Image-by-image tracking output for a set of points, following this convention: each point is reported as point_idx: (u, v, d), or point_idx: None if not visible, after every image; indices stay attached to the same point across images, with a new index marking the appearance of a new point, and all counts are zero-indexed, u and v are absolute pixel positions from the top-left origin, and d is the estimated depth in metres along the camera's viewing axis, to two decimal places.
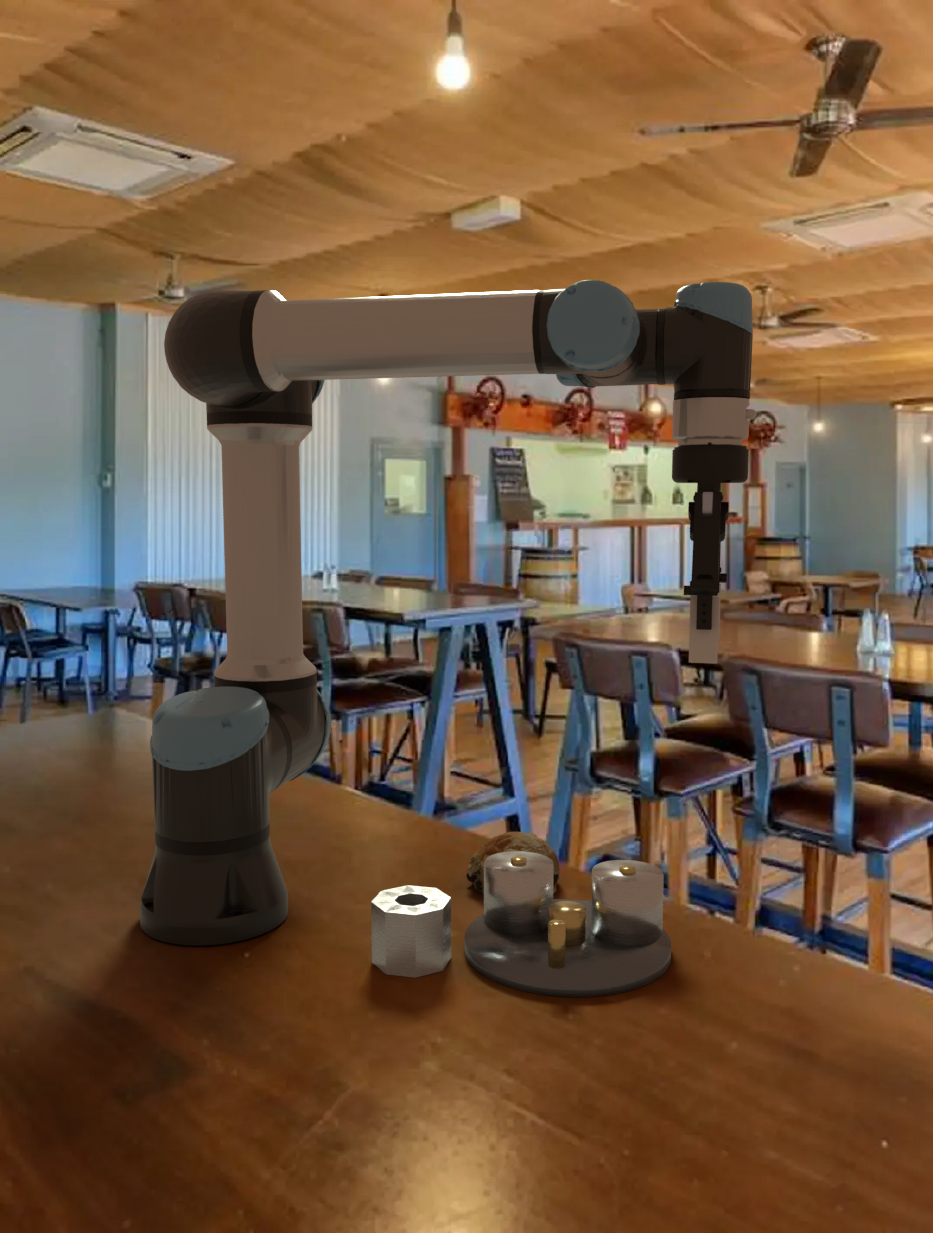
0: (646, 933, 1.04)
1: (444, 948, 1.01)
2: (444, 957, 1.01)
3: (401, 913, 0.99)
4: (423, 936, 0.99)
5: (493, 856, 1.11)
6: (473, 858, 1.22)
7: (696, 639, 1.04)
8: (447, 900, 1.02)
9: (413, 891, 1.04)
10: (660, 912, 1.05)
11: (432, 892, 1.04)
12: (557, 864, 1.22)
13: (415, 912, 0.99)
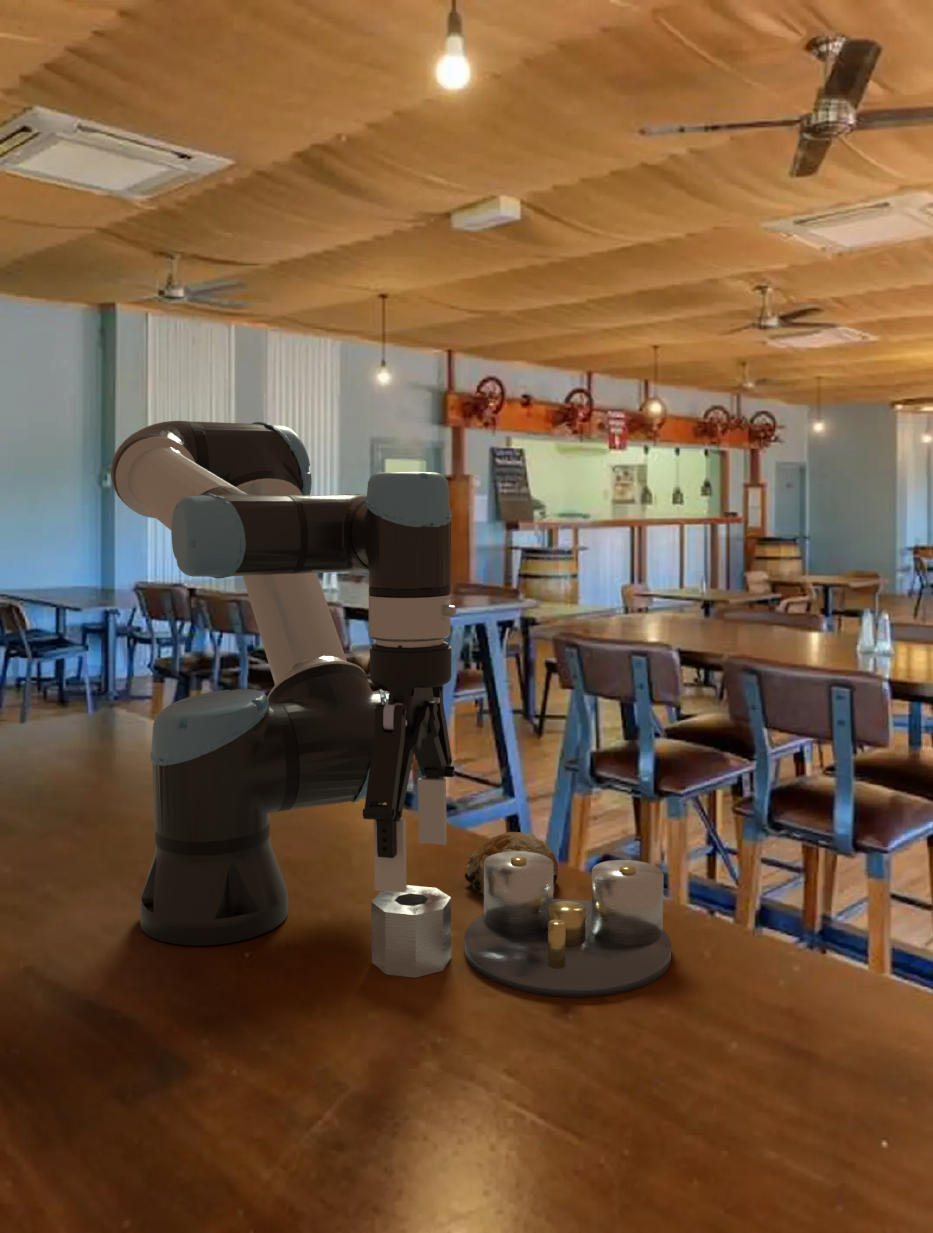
0: (646, 933, 1.04)
1: (444, 948, 1.01)
2: (444, 957, 1.01)
3: (401, 913, 0.99)
4: (423, 936, 0.99)
5: (493, 856, 1.11)
6: (472, 858, 1.22)
7: (382, 865, 0.95)
8: (447, 900, 1.02)
9: (413, 891, 1.04)
10: (660, 912, 1.05)
11: (432, 892, 1.04)
12: (556, 865, 1.22)
13: (415, 912, 0.99)
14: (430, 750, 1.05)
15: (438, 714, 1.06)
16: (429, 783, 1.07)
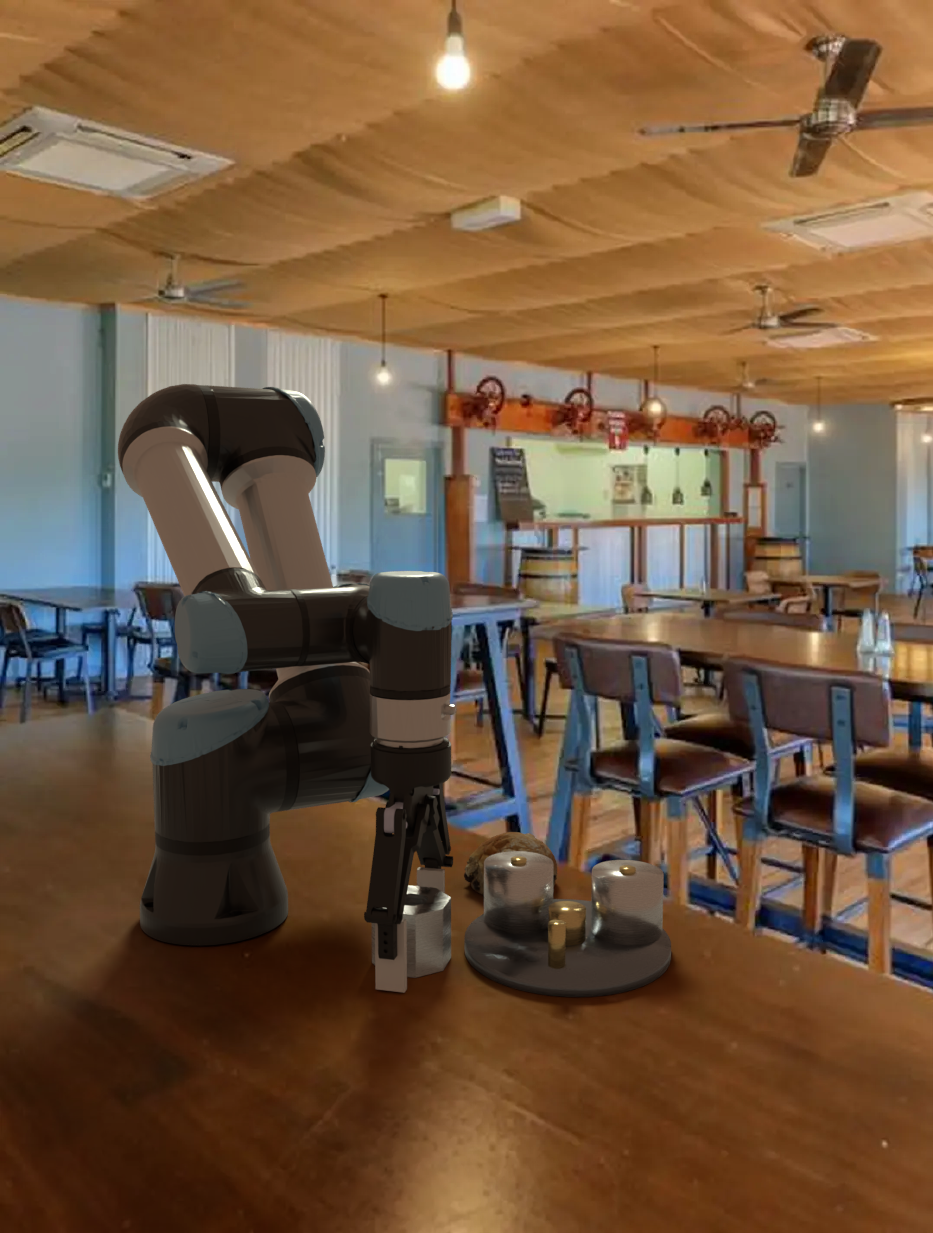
0: (646, 933, 1.04)
1: (444, 948, 1.01)
2: (444, 957, 1.01)
3: None
4: (423, 936, 0.99)
5: (493, 856, 1.11)
6: (471, 858, 1.22)
7: (382, 965, 0.96)
8: (447, 900, 1.02)
9: (413, 891, 1.04)
10: (660, 912, 1.05)
11: (432, 892, 1.04)
12: (555, 865, 1.22)
13: (415, 912, 0.99)
14: (429, 842, 1.06)
15: (438, 805, 1.07)
16: (428, 873, 1.08)
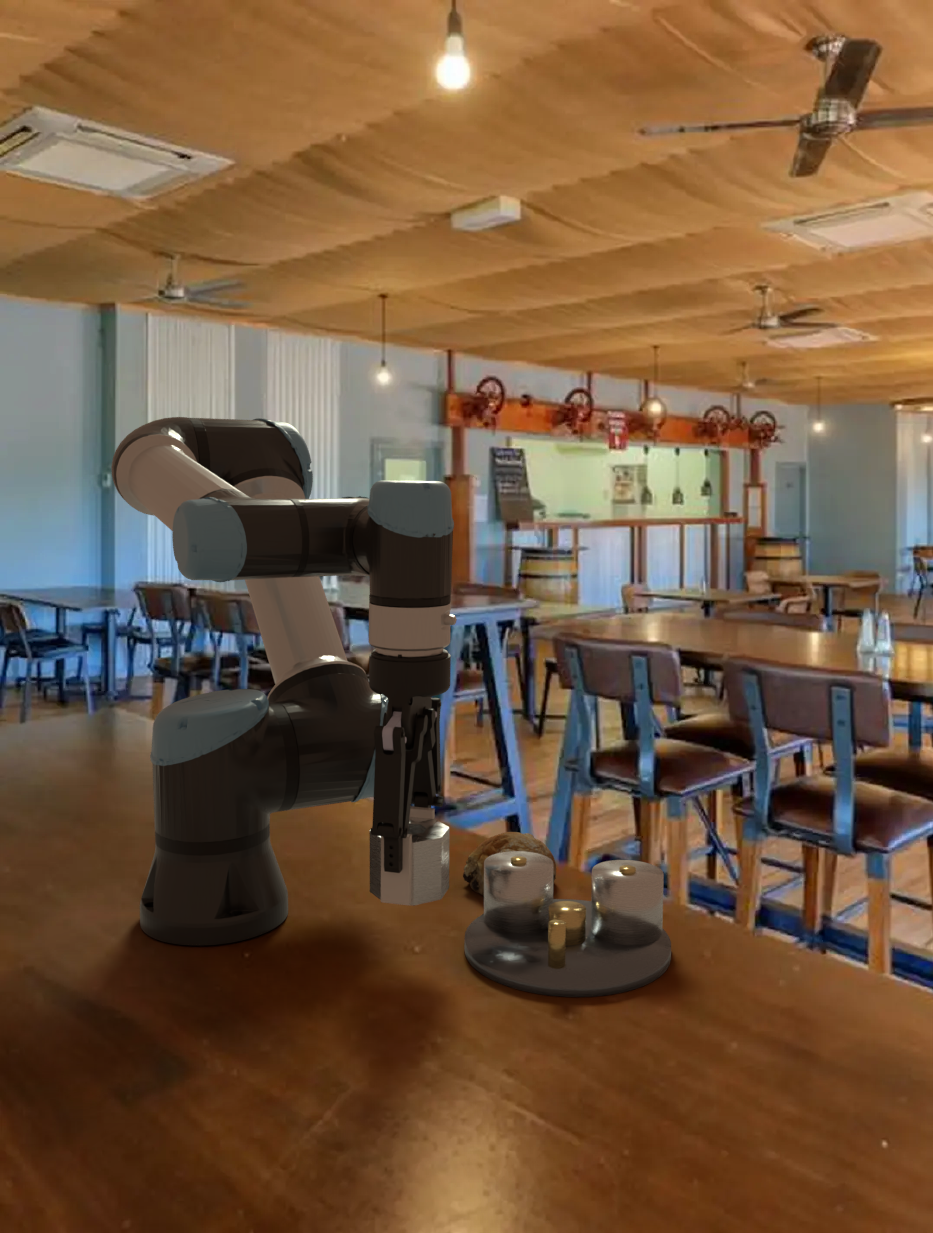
0: (646, 933, 1.04)
1: (442, 877, 1.01)
2: (442, 886, 1.01)
3: None
4: (421, 864, 0.99)
5: (493, 856, 1.11)
6: (470, 858, 1.22)
7: (388, 879, 0.99)
8: (445, 830, 1.02)
9: (412, 821, 1.04)
10: (660, 912, 1.05)
11: (430, 823, 1.04)
12: (554, 864, 1.22)
13: (413, 840, 0.99)
14: (422, 768, 1.04)
15: (433, 730, 1.06)
16: (417, 812, 1.05)
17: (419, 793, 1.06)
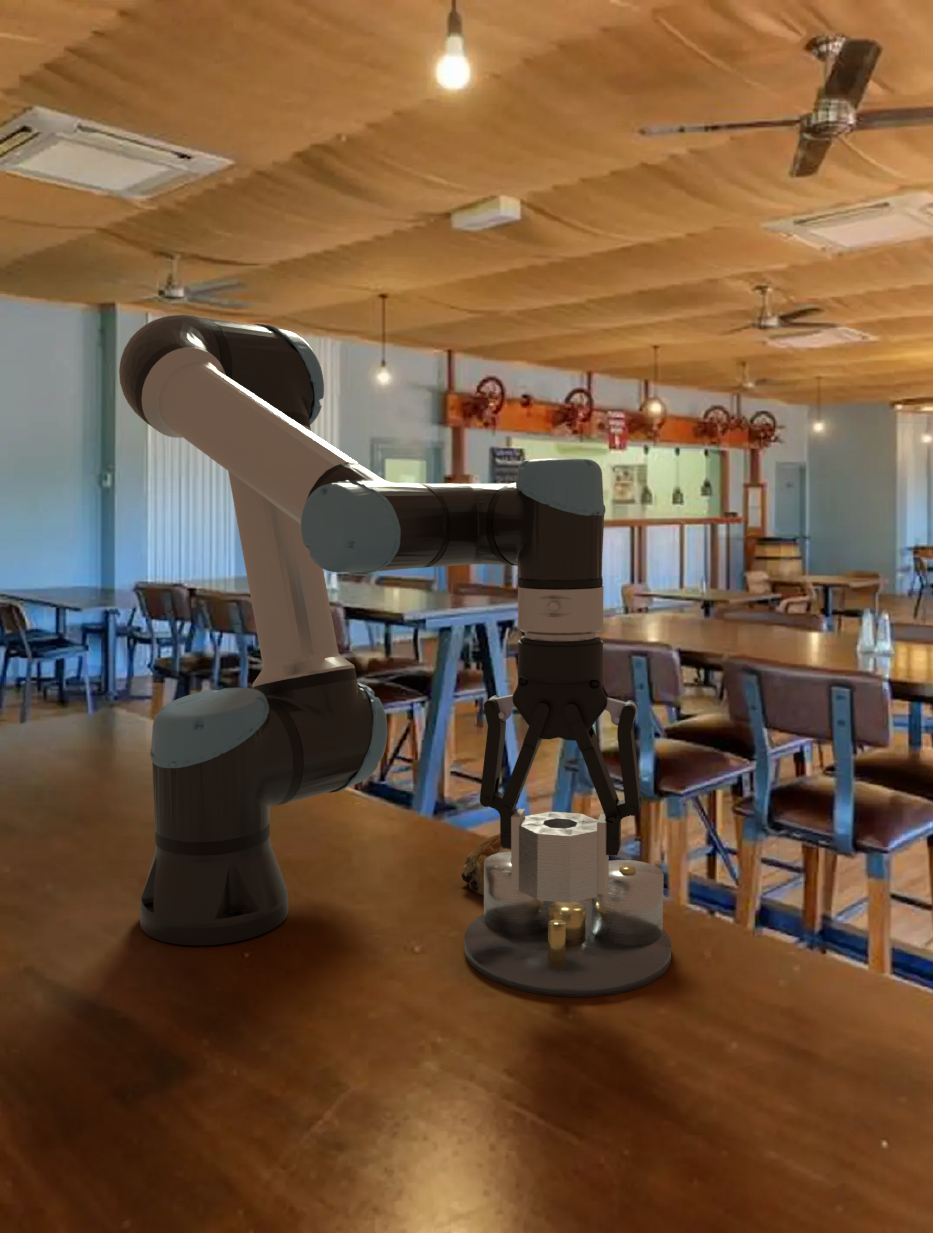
0: (646, 933, 1.04)
1: (543, 879, 0.95)
2: (543, 889, 0.95)
3: (522, 821, 0.98)
4: (524, 852, 0.96)
5: (493, 856, 1.11)
6: (468, 858, 1.22)
7: None
8: (561, 835, 0.94)
9: (583, 823, 0.97)
10: (660, 912, 1.05)
11: (581, 829, 0.95)
12: None
13: (525, 825, 0.97)
14: None
15: None
16: None
17: None
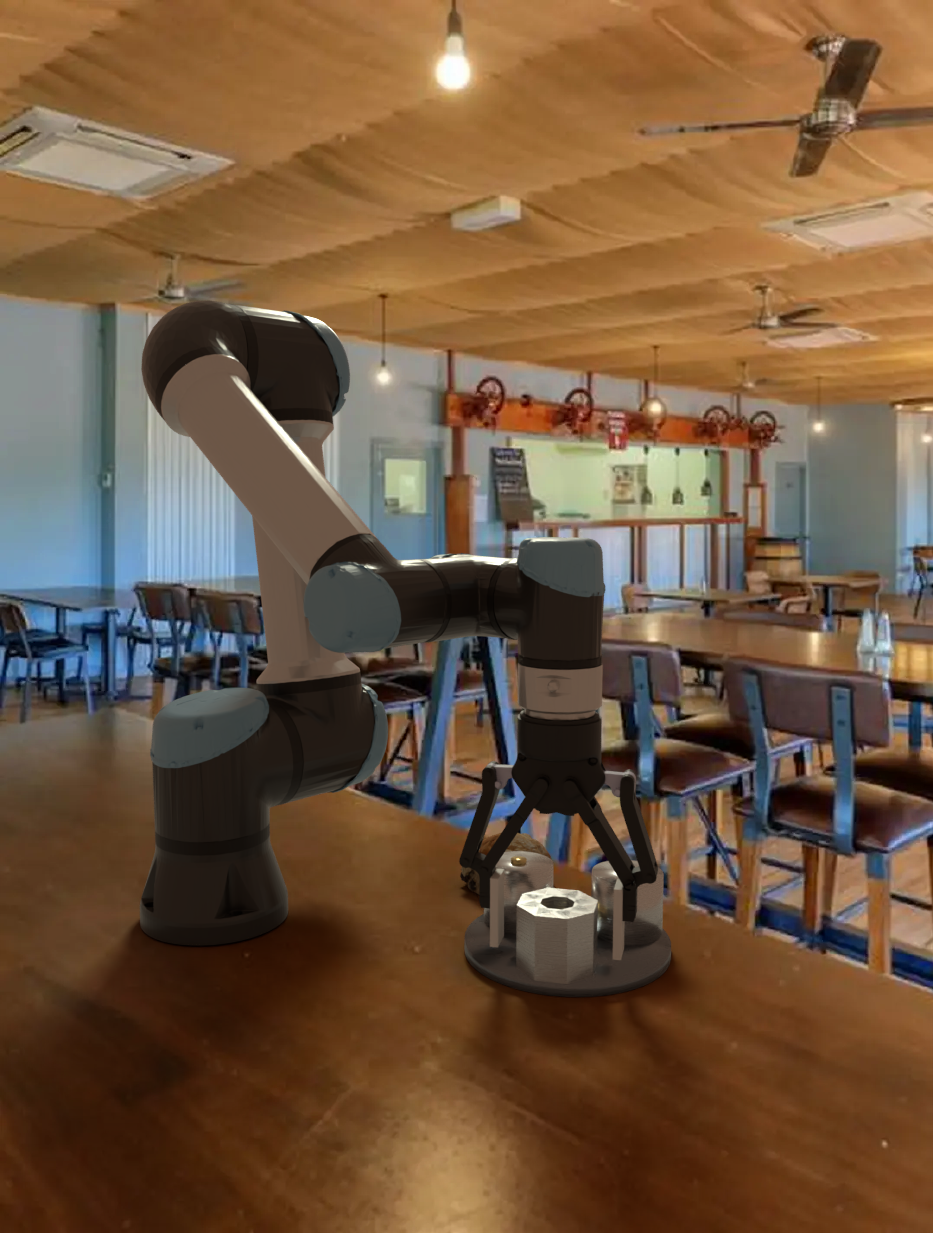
0: (646, 933, 1.04)
1: (540, 960, 0.96)
2: (540, 970, 0.96)
3: (520, 899, 0.99)
4: (521, 931, 0.97)
5: None
6: None
7: None
8: (558, 917, 0.95)
9: (580, 903, 0.98)
10: (660, 912, 1.05)
11: (578, 910, 0.97)
12: None
13: (523, 904, 0.98)
14: None
15: (622, 810, 0.95)
16: None
17: None
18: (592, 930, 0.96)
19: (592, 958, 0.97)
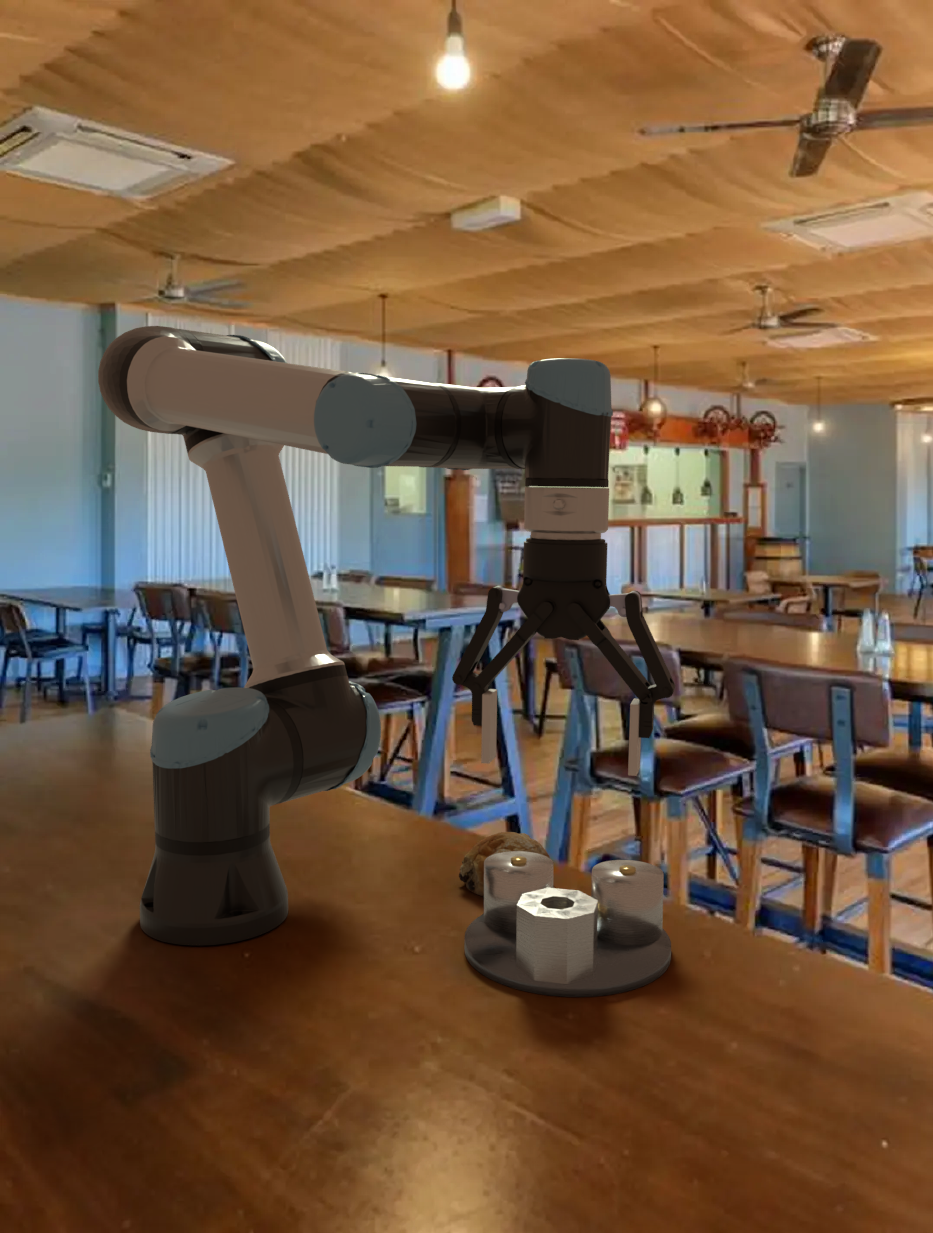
0: (646, 933, 1.04)
1: (540, 960, 0.96)
2: (540, 970, 0.96)
3: (520, 899, 0.99)
4: (521, 931, 0.97)
5: (493, 856, 1.11)
6: (466, 858, 1.22)
7: None
8: (558, 917, 0.95)
9: (580, 903, 0.98)
10: (660, 912, 1.05)
11: (578, 910, 0.97)
12: None
13: (523, 904, 0.98)
14: None
15: (630, 628, 0.96)
16: None
17: None
18: (592, 930, 0.96)
19: (592, 958, 0.97)
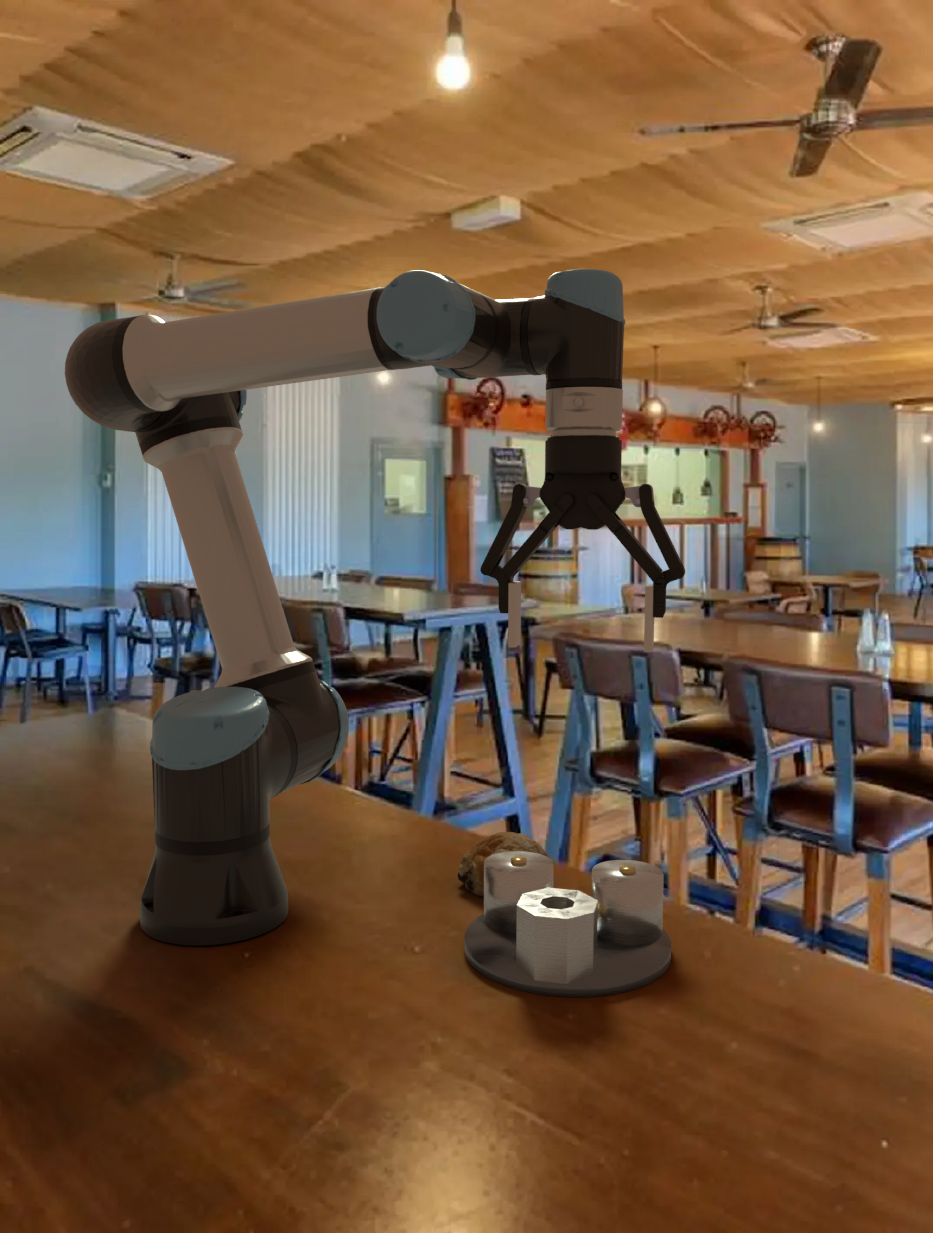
0: (646, 933, 1.04)
1: (540, 960, 0.96)
2: (540, 970, 0.96)
3: (520, 899, 0.99)
4: (521, 931, 0.97)
5: (493, 856, 1.11)
6: (464, 858, 1.22)
7: None
8: (558, 917, 0.95)
9: (580, 903, 0.98)
10: (660, 912, 1.05)
11: (578, 910, 0.97)
12: None
13: (523, 904, 0.98)
14: None
15: (644, 517, 1.05)
16: None
17: None
18: (592, 930, 0.96)
19: (592, 958, 0.97)
